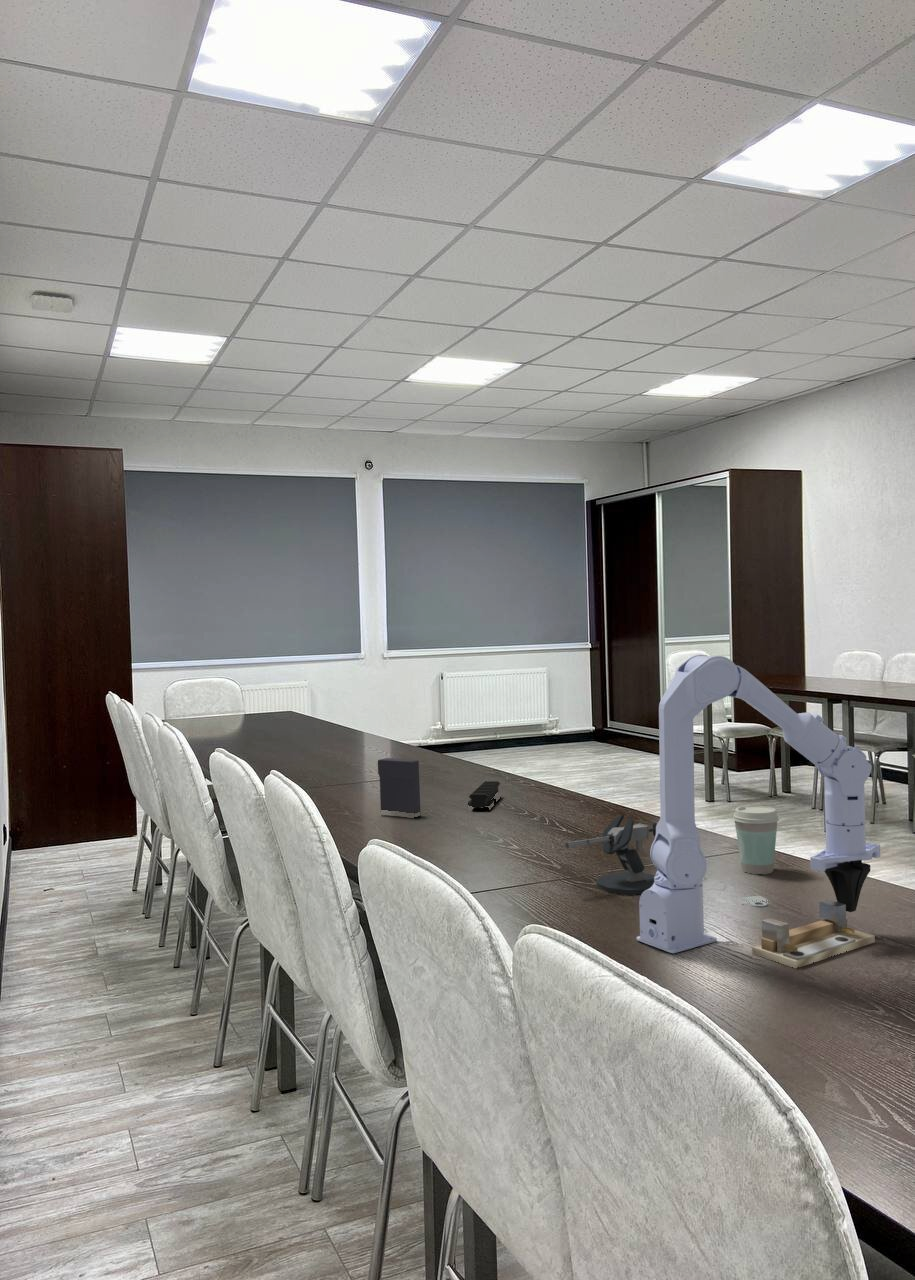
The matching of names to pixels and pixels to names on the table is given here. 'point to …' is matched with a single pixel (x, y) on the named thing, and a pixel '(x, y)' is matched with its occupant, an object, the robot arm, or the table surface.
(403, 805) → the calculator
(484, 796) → the rail mount
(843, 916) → the sliding head
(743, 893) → the table surface
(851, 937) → the jig
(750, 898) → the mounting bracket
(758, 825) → the coffee cup
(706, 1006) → the table surface
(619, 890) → the gun turret
